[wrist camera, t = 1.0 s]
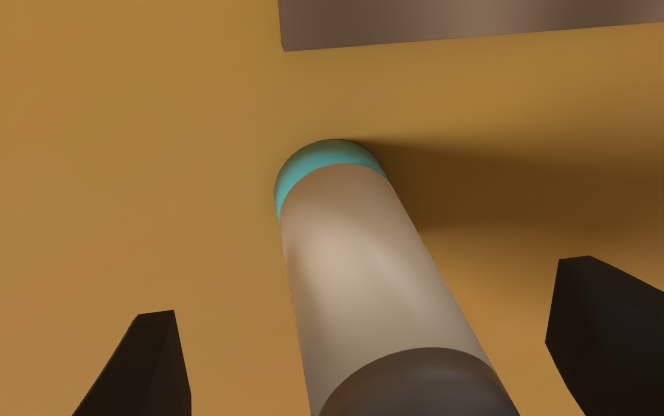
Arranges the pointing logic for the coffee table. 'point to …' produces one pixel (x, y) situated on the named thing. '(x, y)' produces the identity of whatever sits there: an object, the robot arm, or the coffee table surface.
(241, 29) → the coffee table surface
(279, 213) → the marker
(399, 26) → the clipboard
